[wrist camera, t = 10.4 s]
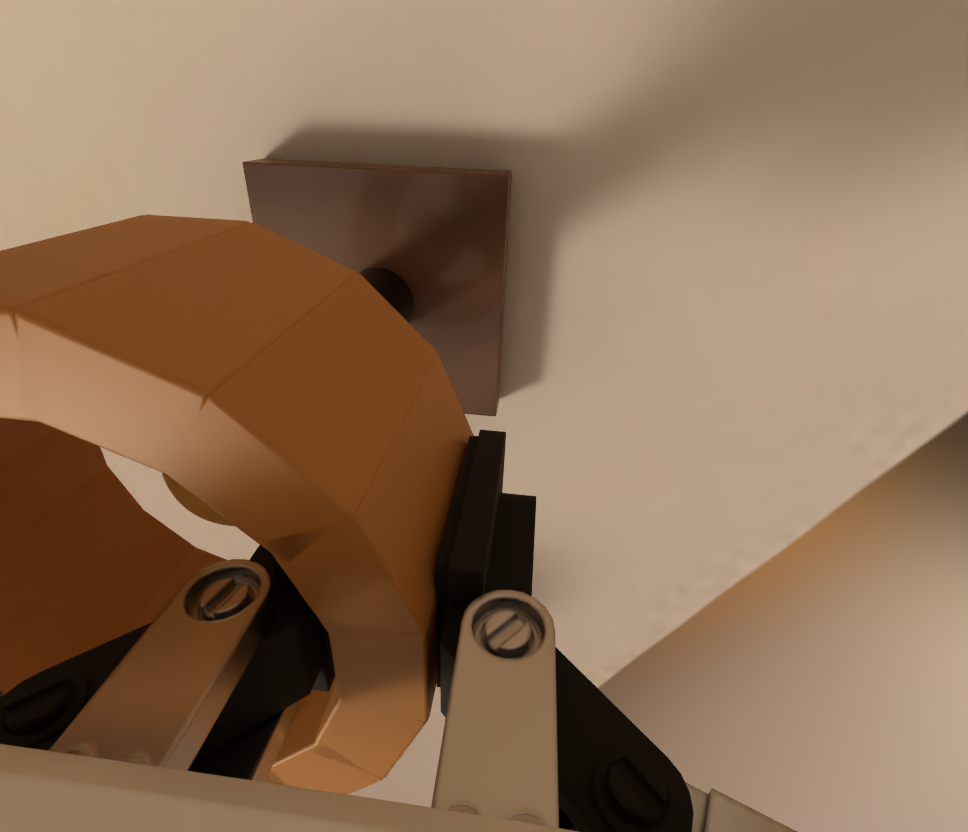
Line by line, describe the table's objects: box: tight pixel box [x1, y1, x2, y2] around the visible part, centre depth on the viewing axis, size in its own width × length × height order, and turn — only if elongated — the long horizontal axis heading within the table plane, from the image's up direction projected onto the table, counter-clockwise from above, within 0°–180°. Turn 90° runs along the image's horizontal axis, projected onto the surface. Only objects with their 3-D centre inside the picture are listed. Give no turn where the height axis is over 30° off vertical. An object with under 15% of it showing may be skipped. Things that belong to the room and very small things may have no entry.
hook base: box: [243, 159, 512, 416], centre depth 23 cm, size 10×10×2 cm
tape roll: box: [0, 215, 474, 794], centre depth 10 cm, size 10×10×5 cm
